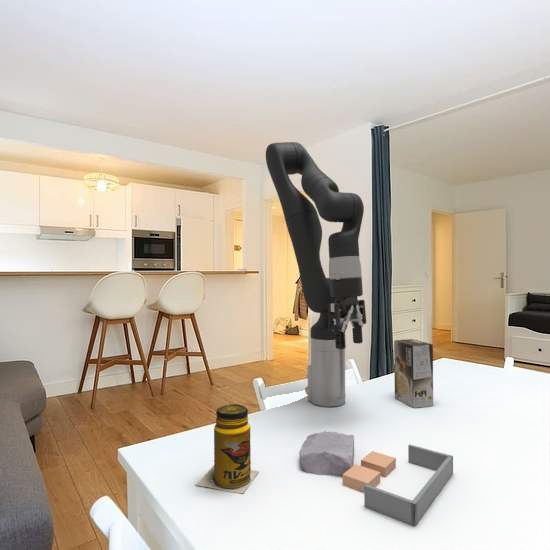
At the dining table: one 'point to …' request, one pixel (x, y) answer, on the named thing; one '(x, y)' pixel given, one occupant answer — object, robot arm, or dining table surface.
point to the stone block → (327, 453)
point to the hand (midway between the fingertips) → (349, 345)
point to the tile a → (360, 477)
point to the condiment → (230, 451)
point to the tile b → (379, 463)
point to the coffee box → (413, 372)
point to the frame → (418, 506)
